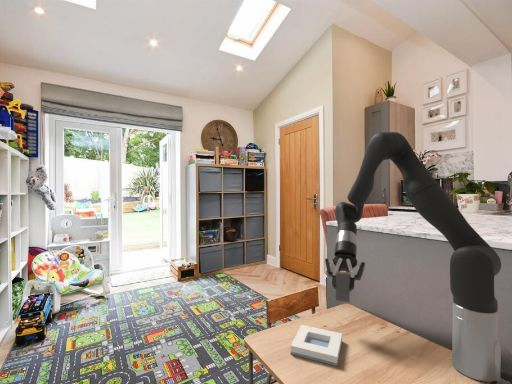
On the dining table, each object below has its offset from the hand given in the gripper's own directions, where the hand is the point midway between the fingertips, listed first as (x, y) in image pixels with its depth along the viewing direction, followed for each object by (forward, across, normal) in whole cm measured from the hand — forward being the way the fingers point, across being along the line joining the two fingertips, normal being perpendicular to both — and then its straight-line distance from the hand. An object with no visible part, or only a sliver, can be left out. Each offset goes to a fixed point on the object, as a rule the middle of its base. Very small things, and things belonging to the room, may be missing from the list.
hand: (342, 288), depth 88 cm
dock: (+18, -6, +3) cm, 20 cm away
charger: (+2, 0, +4) cm, 5 cm away
